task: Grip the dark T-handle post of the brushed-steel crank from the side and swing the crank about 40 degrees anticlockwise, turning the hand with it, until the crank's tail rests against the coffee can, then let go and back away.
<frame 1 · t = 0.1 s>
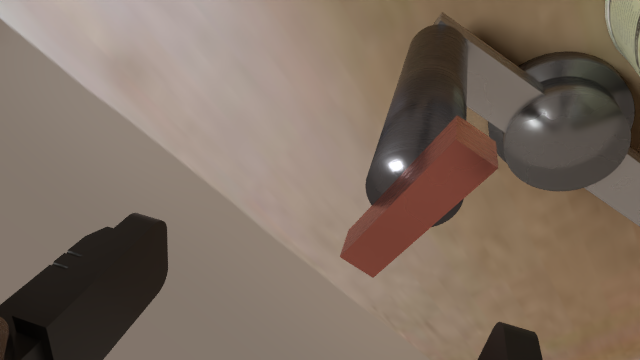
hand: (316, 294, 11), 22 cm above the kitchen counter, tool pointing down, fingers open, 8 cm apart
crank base: (554, 112, 29), on the kitchen counter
crank: (570, 199, 21), point 10 cm above the kitchen counter, hinge at 0.0°
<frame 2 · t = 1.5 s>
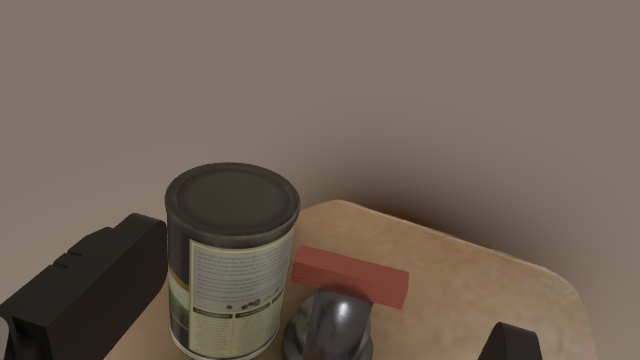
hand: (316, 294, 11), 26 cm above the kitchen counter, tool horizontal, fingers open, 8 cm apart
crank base: (326, 351, 41), on the kitchen counter
crank: (345, 276, 35), point 10 cm above the kitchen counter, hinge at 0.0°
coffee can: (225, 320, 42), on the kitchen counter
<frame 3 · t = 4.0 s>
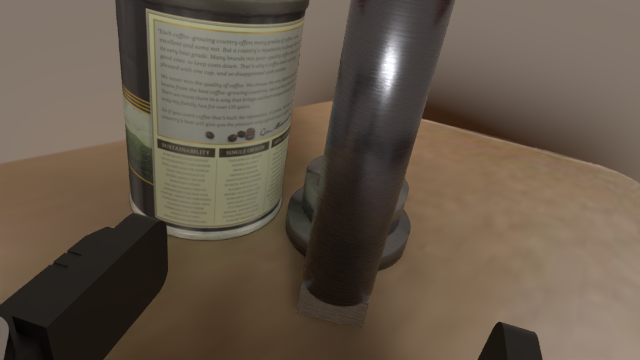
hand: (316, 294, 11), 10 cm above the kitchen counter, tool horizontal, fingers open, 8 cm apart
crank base: (345, 231, 30), on the kitchen counter
crank: (376, 92, 24), point 10 cm above the kitchen counter, hinge at 0.0°
coffee can: (208, 198, 31), on the kitchen counter
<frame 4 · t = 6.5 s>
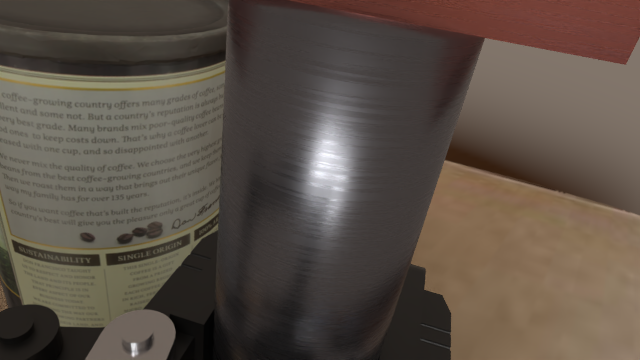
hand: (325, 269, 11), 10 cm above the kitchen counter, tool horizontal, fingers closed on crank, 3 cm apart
crank: (343, 170, 16), point 10 cm above the kitchen counter, hinge at 0.0°, touching gripper
coffee can: (127, 287, 23), on the kitchen counter
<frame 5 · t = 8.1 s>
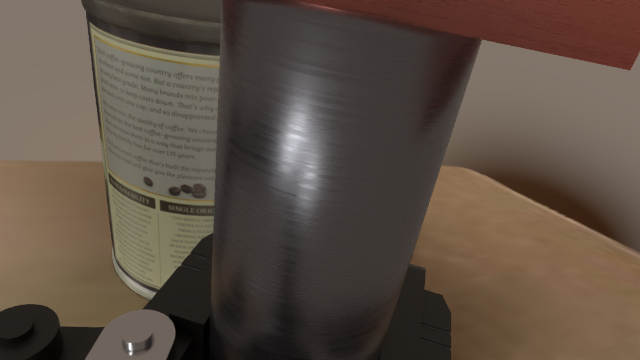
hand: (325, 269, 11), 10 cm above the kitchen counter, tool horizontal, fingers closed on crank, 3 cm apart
crank: (367, 178, 16), point 10 cm above the kitchen counter, hinge at 21.7°, touching gripper
coffee can: (205, 248, 27), on the kitchen counter
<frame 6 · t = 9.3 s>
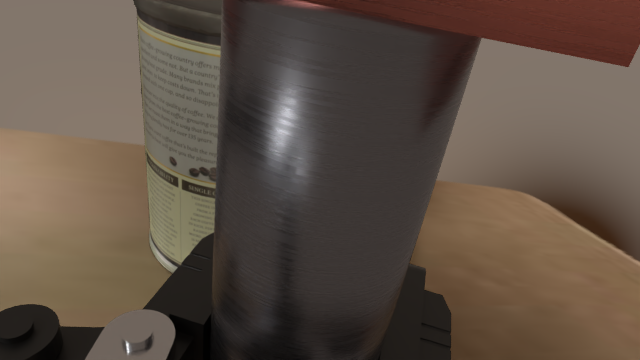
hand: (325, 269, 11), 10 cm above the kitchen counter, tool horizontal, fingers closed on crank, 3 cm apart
crank: (363, 176, 16), point 10 cm above the kitchen counter, hinge at 35.8°, touching gripper
coffee can: (234, 236, 28), on the kitchen counter
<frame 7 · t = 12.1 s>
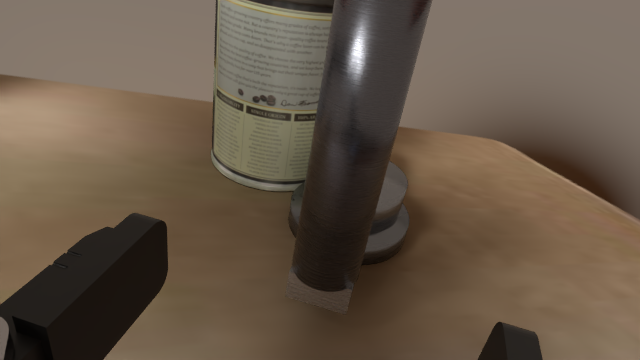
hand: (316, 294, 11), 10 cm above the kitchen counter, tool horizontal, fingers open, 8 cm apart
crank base: (346, 224, 31), on the kitchen counter
crank: (376, 90, 25), point 10 cm above the kitchen counter, hinge at 36.3°
coffee can: (272, 160, 37), on the kitchen counter
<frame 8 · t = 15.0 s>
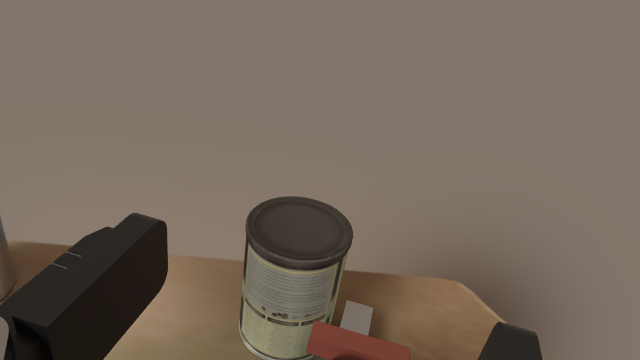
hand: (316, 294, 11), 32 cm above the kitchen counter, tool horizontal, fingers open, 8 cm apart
crank: (356, 332, 38), point 10 cm above the kitchen counter, hinge at 36.3°
coffee can: (284, 327, 50), on the kitchen counter
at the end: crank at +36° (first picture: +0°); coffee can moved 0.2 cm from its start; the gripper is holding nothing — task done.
